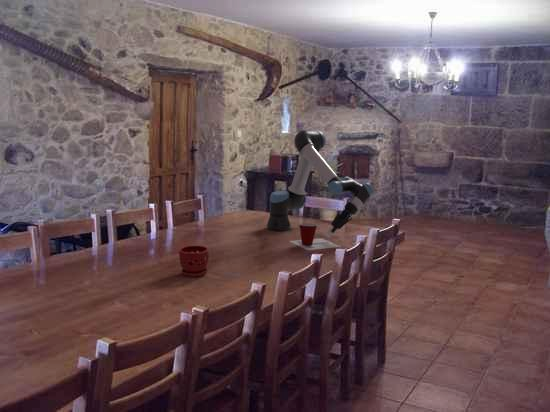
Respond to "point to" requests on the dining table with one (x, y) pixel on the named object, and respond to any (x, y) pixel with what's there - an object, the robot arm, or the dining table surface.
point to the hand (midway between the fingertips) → (327, 235)
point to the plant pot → (194, 260)
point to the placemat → (316, 244)
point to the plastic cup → (307, 233)
